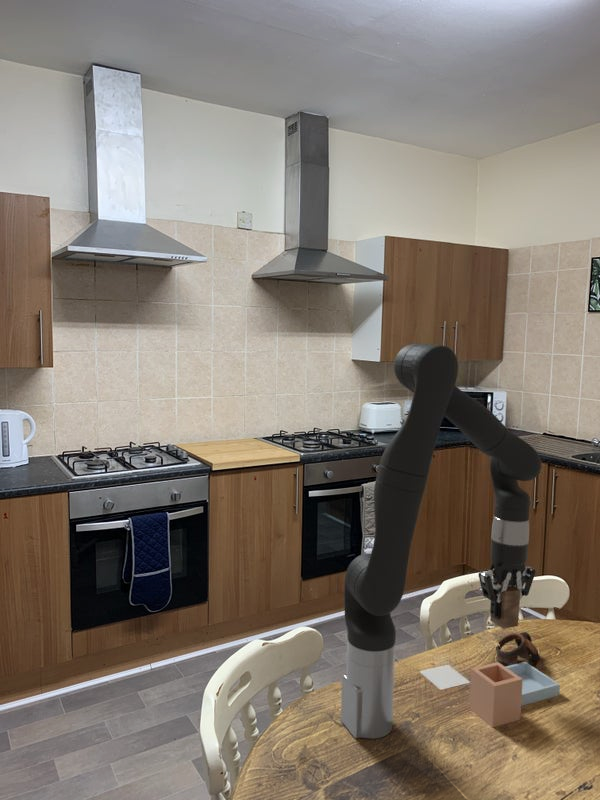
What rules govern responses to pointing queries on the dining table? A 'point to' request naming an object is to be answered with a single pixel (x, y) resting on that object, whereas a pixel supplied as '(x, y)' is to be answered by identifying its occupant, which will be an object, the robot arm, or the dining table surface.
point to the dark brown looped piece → (518, 649)
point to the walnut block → (508, 608)
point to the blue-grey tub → (534, 683)
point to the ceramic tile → (444, 677)
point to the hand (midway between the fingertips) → (504, 615)
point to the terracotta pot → (495, 694)
